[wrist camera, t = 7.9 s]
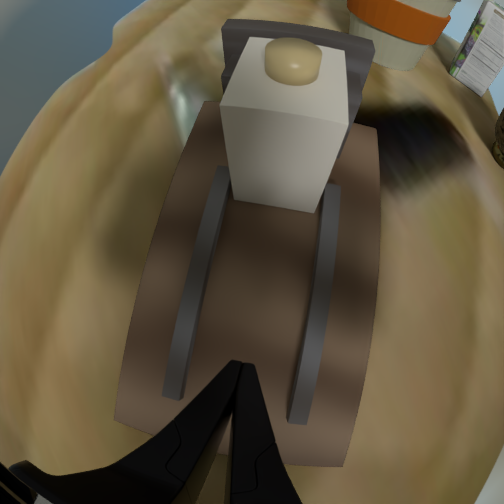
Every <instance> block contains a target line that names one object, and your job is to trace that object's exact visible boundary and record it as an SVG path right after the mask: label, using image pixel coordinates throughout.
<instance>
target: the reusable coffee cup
mask: <svg viewBox="0 0 504 504" xmlns="http://www.w3.org/2000/svg"><path fill="white" fill-rule="evenodd" d="M460 1H461V0H347V7H348V9H349V10H350V25H349V34H351V35H355V36H359V37H363V38H366V39H370V40H373V44H374V47H375V55H374V58H373V62H375V63H377V64H379V65H382V66H385V67H387V68H391V69H394V70H400V71H409V70H412V69H413V68H414V67H415V65H416V64H417V62H418V61H419V59H420V58H421V56H422V55H423V53H424V52H425V50H426V49H427V47H428V46H429V45H432V44H434V43H435V42H436V40H437V39H438V37H439V36H440V34H441V33H442V31H443V30H444V28H445V27H446V25H447V24H448V22H449V21H450V19H451V17H450V15H449V14H450V12H451V10H452V9H453V7H454V6H455V4H456V2H460Z"/></svg>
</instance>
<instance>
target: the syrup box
mask: <svg viewBox="0 0 504 504" xmlns="http://www.w3.org/2000/svg"><path fill="white" fill-rule="evenodd" d="M503 65H504V8H503V7H501V6H500V5H499V4H497V3H496V2H494V1H493V0H484V1H483V3H482V5H481V7H480V9H479V11H478V13H477V15H476V17H475V19H474V21H473V23H472V25H471V27H470V29H469V30H468V32H467V34H466V36H465V38H464V40H463V42H462V44H461V46H460V48H459V50H458V51H457V53H456V55H455V57H454V59H453V61H452V64H451V68H450V74H451V75H452V76H453V77H455V78H456V79H457V80H459V81H460V82H462V83H463V84H464V85H466V86H467V87H469V88H470V89H471V90H473V91H474V92H475V93H477V94H478V95H479V96H480V97H482V96H483V95H484V93H485V92H486V90H487V89H488V88H489V86H490V85H491V83H492V82H493V80H494V79H495V78H496V76H497V75H498V73H499V72H500V70H501V69H502V67H503Z"/></svg>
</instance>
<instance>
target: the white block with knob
mask: <svg viewBox="0 0 504 504" xmlns="http://www.w3.org/2000/svg"><path fill="white" fill-rule="evenodd" d="M219 106H220V112H221V119H222V126H223V132H224V139H225V145H226V152H227V158H228V165H229V171H230V177H231V184H232V190H233V196H234V200H239V201H245V202H251V203H258V204H264V205H269V206H275V207H281V208H287V209H292V210H298V211H303V212H309V213H314V212H315V210H316V207H317V205H318V202H319V200H320V198H321V195H322V193H323V190H324V188H325V185H326V183H327V180H328V178H329V175H330V173H331V170H332V167H333V165H334V162H335V160H336V157H337V155H338V152H339V149H340V147H341V144H342V141H343V139H344V136H345V133H346V131H347V128H348V125H349V119H348V92H347V75H346V62H345V51H343V50H339V49H334V48H329V47H324V46H319V45H315V44H313V43H311V42H309V41H306V40H303V39H298V38H278V39H270V38H258V37H249V39H248V42H247V44H246V46H245V48H244V50H243V52H242V54H241V56H240V59H239V61H238V63H237V65H236V67H235V70H234V72H233V74H232V77H231V79H230V81H229V83H228V86H227V88H226V91H225V93H224V95H223V98H222V100H221V103H220V105H219Z"/></svg>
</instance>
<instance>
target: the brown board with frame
mask: <svg viewBox="0 0 504 504" xmlns="http://www.w3.org/2000/svg"><path fill="white" fill-rule="evenodd" d="M221 31H222V41H223V50H224V59H225V69H224V71H223V73H222V75H221V79H222V87H223V95H224V93H225V91H226V88H227V86H228V83H229V81H230V79H231V77H232V74H233V72H234V70H235V67H236V65H237V63H238V61H239V59H240V56H241V54H242V52H243V50H244V48H245V46H246V44H247V42H248V39H249V37H258V38H270V39H278V38H298V39H303V40H306V41H309V42H311V43H313V44H315V45H319V46H324V47H329V48H334V49H339V50H343V51H345V62H346V75H347V92H348V119H349V125H348V128H347V131H346V133H345V136H344V139H343V141H342V144H341V147H340V149H339V152H338V155H337V157H336V160H335V162H334V165H333V167H332V170H331V173H330V175H329V178H328V180H327V183H326V185H325V188H324V190H323V193H322V195H321V198H320V200H319V202H318V205H317V207H316V210H315V212H314V213H309V212H303V211H298V210H292V209H287V208H281V207H275V206H269V205H264V204H258V203H251V202H245V201H239V200H234V196H233V190H232V184H231V177H230V171H229V165H228V158H227V152H226V145H225V139H224V132H223V126H222V119H221V112H220V106H219V105H220V103H221V102H211V101H204V103H203V106H202V108H201V110H200V112H199V114H198V117H197V119H196V121H195V124H194V126H193V128H192V131H191V133H190V135H189V138H188V140H187V143H186V145H185V148H184V150H183V153H182V155H181V158H180V160H179V163H178V166H177V168H176V171H175V173H174V176H173V179H172V182H171V184H170V187H169V190H168V193H167V196H166V199H165V201H164V204H163V207H162V210H161V213H160V216H159V219H158V222H157V226H156V229H155V232H154V235H153V238H152V242H151V245H150V248H149V252H148V255H147V259H146V262H145V266H144V269H143V273H142V277H141V281H140V284H139V288H138V292H137V296H136V300H135V305H134V309H133V313H132V317H131V322H130V326H129V331H128V336H127V341H126V346H125V351H124V356H123V362H122V367H121V373H120V379H119V386H118V392H117V399H116V407H115V415H114V420H115V421H118V422H120V423H122V424H125V425H127V426H130V427H133V428H135V429H138V430H140V431H143V432H146V433H149V434H152V435H154V436H155V435H156V434H157V433H158V432H160V431H161V430H162V429H163V428H164V427H165V426H166V425H167V424H168V423H169V422H170V421H171V420H174V418H175V417H176V416H177V415H178V414H179V413H180V412H181V411H182V410H183V409H184V408H185V407H186V406H187V405H188V404H189V403H190V402H191V401H192V400H193V399H194V398H195V397H196V396H197V395H198V394H199V393H200V392H201V390H202V389H203V388H204V387H205V386H206V385H207V384H208V383H209V382H210V381H211V380H212V379H213V378H214V377H215V376H216V375H217V374H218V373H219V372H220V371H221V370H222V369H223V367H224V366H225V365H226V364H227V363H228V362H229V361H230V360H232V359H233V360H238V361H242V363H243V362H248V363H253V364H254V365H255V367H256V371H257V374H258V378H259V382H260V386H261V389H262V393H263V397H264V400H265V404H266V408H267V411H268V415H269V418H270V422H271V425H272V429H273V432H274V436H275V439H276V443H277V446H278V449H279V453H280V456H281V459H282V462H283V464H290V465H302V466H321V467H343V463H344V460H345V457H346V454H347V450H348V447H349V443H350V440H351V436H352V433H353V429H354V425H355V421H356V417H357V413H358V409H359V404H360V400H361V395H362V390H363V386H364V381H365V375H366V370H367V364H368V358H369V352H370V346H371V339H372V332H373V324H374V316H375V307H376V297H377V286H378V272H379V254H380V173H379V155H378V142H377V131H376V129H375V128H371V127H368V126H364V125H360V124H356V123H353V122H354V119H355V116H356V114H357V111H358V108H359V106H360V103H361V100H362V90H363V87H364V84H365V81H366V78H367V75H368V72H369V69H370V67H371V64H372V61H373V58H374V55H375V47H374V44H373V40H370V39H366V38H363V37H359V36H355V35H351V34H347V33H343V32H338V31H334V30H329V29H324V28H318V27H313V26H306V25H300V24H293V23H284V22H275V21H263V20H246V19H227V21H226V22H225V24H224V25H223V27H222V28H221ZM231 418H232V415H231ZM231 418H230V421H229V423H228V426H227V428H226V431H225V433H224V436H223V438H222V441H221V443H220V446H219V448H218V451H217V453H219V454H224V455H228V450H229V438H230V427H231Z"/></svg>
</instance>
